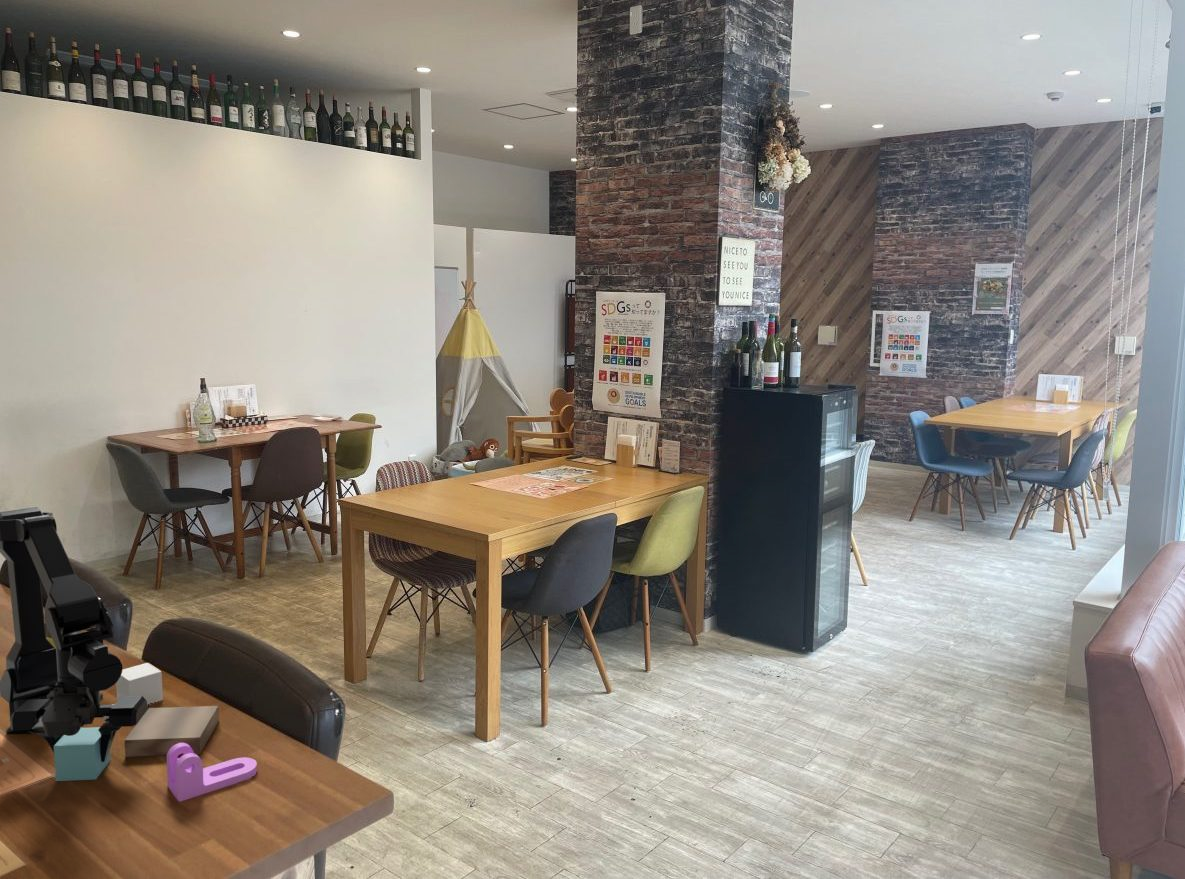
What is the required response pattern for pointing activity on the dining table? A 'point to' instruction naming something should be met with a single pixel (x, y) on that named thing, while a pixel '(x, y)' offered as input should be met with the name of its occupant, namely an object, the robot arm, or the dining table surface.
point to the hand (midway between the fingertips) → (83, 761)
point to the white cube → (141, 683)
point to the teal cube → (79, 756)
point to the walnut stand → (171, 730)
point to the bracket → (203, 773)
